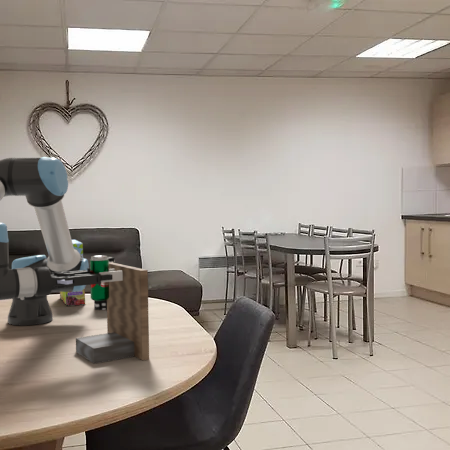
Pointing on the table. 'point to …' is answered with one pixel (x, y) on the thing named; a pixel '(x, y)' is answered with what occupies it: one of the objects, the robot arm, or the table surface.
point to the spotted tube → (103, 304)
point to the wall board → (122, 320)
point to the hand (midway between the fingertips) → (117, 274)
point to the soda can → (102, 291)
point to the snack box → (75, 296)
